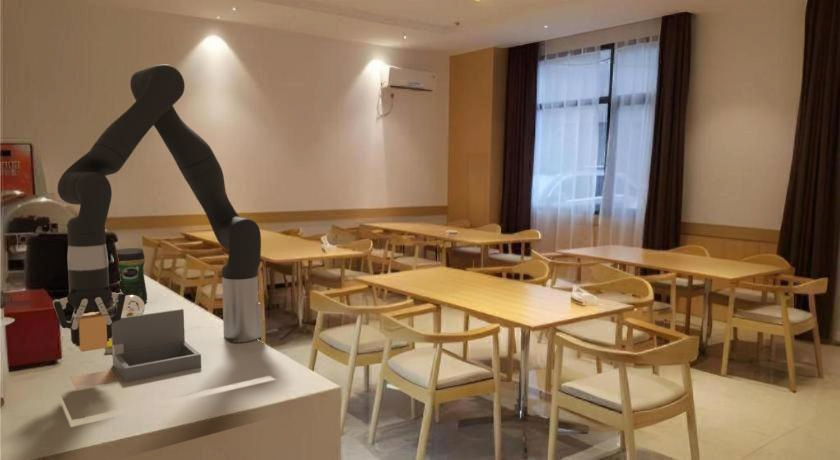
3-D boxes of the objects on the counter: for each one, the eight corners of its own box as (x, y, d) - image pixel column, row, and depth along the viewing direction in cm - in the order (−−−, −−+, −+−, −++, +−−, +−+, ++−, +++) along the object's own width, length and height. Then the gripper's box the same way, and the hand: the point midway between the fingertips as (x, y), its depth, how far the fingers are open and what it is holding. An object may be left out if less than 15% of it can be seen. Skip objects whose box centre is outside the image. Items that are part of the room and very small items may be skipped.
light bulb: (111, 340, 160) (109, 296, 159) (132, 333, 166) (130, 291, 165) (131, 343, 157) (128, 299, 156) (151, 336, 164) (150, 293, 162)
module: (102, 341, 132) (101, 311, 132) (107, 347, 129) (106, 316, 128) (77, 345, 129) (75, 314, 129) (81, 351, 125) (79, 319, 125)
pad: (111, 373, 136) (111, 369, 135) (118, 384, 129) (118, 380, 129) (70, 381, 131) (70, 377, 130) (76, 393, 124) (76, 388, 124)
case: (184, 355, 148) (182, 308, 147) (201, 370, 138) (199, 320, 137) (113, 369, 138) (110, 318, 137) (126, 386, 128) (123, 332, 127)
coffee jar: (146, 298, 206) (144, 245, 204) (148, 304, 199) (145, 249, 197) (115, 301, 202) (112, 247, 199) (115, 307, 195) (112, 250, 192)
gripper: (121, 260, 134) (124, 333, 136) (46, 266, 125) (51, 344, 127) (128, 265, 128) (132, 341, 130) (51, 271, 120) (55, 353, 122)
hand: (92, 342), depth 129 cm, fingers closed on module, 5 cm apart
